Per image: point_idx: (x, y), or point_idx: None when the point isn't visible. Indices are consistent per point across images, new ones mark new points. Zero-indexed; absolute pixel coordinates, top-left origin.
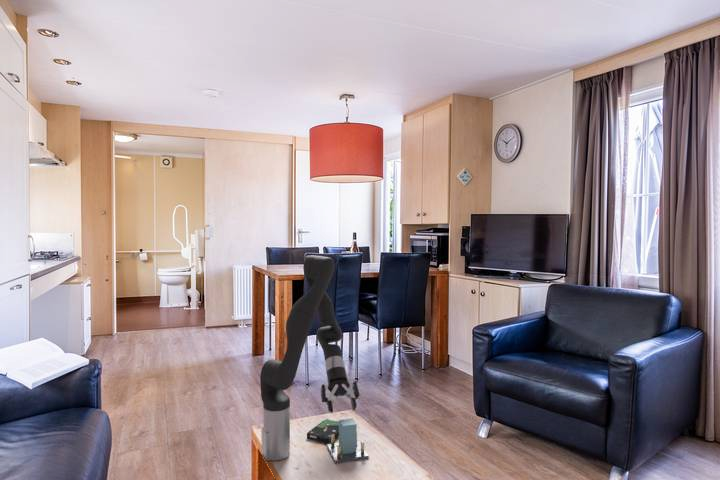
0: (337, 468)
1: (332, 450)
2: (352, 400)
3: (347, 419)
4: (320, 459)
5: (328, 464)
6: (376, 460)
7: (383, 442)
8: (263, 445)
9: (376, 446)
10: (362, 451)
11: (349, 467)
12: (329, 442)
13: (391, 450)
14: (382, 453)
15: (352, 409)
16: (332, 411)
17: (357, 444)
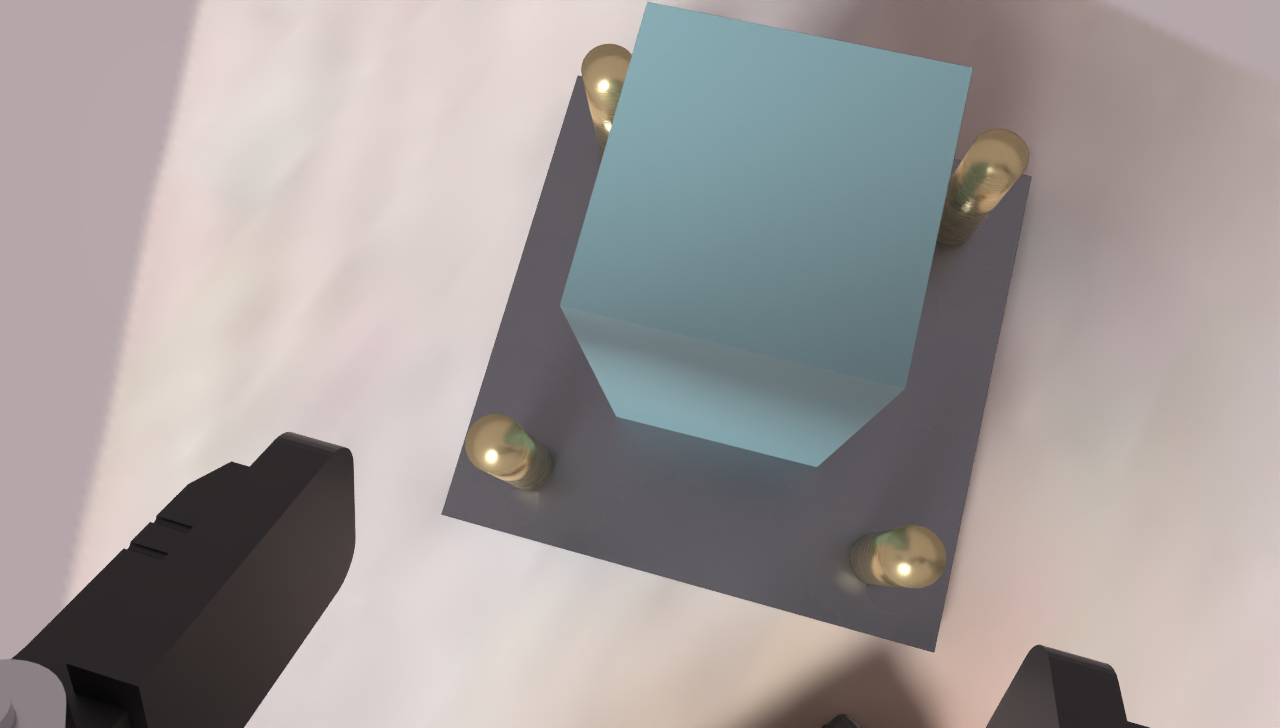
0: (1043, 85)
1: (943, 436)
2: (183, 622)
3: (695, 316)
4: (1156, 381)
5: (1107, 218)
6: (528, 14)
7: (159, 339)
8: None
9: (308, 295)
10: None
11: (899, 36)
12: (852, 721)
13: (221, 116)
14: (362, 111)
15: (335, 586)
16: (1031, 676)
17: (532, 401)
